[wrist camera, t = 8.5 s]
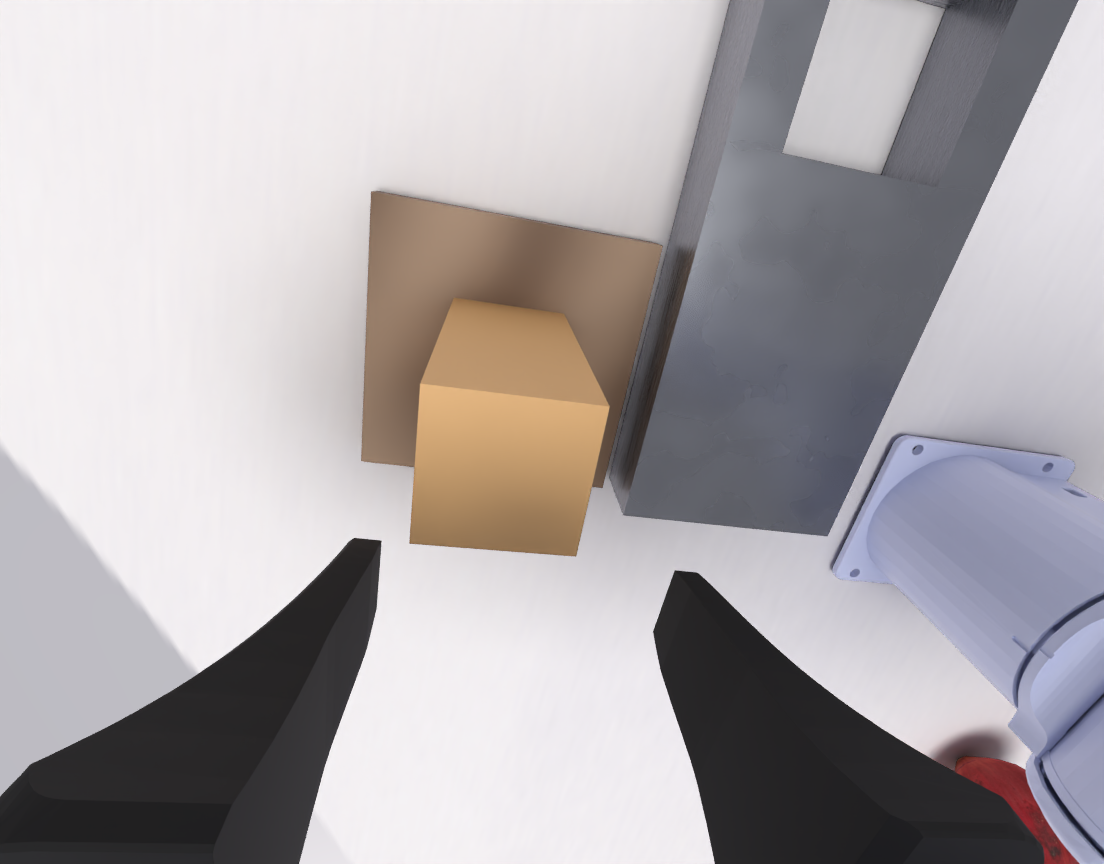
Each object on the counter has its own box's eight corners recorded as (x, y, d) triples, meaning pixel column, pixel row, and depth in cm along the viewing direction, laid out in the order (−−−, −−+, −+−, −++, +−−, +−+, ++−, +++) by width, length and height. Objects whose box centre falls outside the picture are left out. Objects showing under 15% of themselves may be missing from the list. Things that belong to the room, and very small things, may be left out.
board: (655, 242, 20) (662, 245, 19) (598, 476, 24) (602, 487, 23) (377, 191, 18) (371, 191, 17) (366, 449, 22) (361, 461, 21)
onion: (927, 737, 34) (1041, 885, 27) (1014, 721, 34) (1151, 864, 27) (913, 792, 37) (1015, 940, 30) (994, 776, 37) (1115, 921, 30)
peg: (563, 313, 20) (609, 406, 11) (546, 413, 21) (576, 556, 13) (453, 297, 19) (420, 383, 11) (444, 401, 21) (409, 543, 12)
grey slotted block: (1047, -108, 16) (1155, -166, 14) (792, 498, 25) (827, 536, 23) (780, -197, 15) (842, -281, 12) (609, 477, 24) (623, 515, 21)
